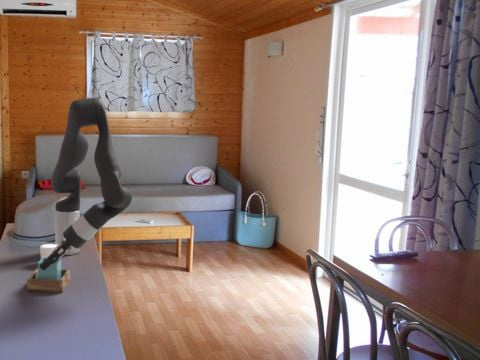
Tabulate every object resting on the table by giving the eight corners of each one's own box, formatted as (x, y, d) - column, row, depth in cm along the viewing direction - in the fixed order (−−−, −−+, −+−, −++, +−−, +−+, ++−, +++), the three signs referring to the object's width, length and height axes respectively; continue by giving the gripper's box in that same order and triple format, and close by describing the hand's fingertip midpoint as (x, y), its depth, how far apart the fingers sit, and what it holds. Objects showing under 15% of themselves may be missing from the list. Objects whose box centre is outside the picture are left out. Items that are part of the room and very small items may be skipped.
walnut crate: (37, 280, 195) (37, 268, 195) (70, 280, 196) (70, 269, 195) (27, 291, 184) (27, 279, 183) (62, 292, 185) (62, 280, 184)
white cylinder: (62, 262, 217) (62, 244, 216) (54, 267, 210) (54, 248, 209) (44, 260, 217) (44, 242, 216) (36, 266, 211) (36, 247, 210)
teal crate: (42, 280, 193) (42, 257, 191) (61, 281, 193) (61, 257, 192) (38, 286, 187) (37, 262, 186) (56, 287, 187) (57, 263, 186)
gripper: (77, 218, 194) (41, 250, 195) (68, 228, 180) (29, 263, 181) (93, 233, 196) (57, 266, 196) (85, 245, 181) (47, 280, 182)
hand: (44, 264), depth 189 cm, fingers open, 7 cm apart
